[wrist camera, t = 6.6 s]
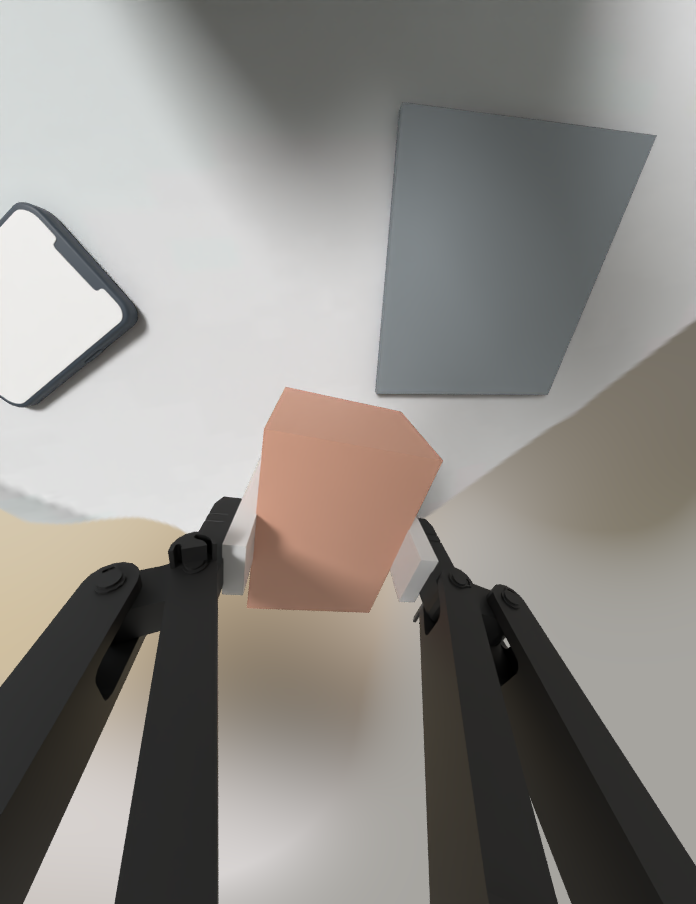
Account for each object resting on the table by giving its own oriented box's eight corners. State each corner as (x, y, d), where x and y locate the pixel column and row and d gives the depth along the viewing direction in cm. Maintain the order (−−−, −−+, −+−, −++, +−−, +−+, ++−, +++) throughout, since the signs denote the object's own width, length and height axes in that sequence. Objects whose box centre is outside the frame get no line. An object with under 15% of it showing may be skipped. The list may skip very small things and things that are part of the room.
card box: (285, 386, 13) (264, 428, 8) (401, 411, 14) (443, 460, 9) (267, 526, 17) (246, 608, 12) (356, 536, 18) (369, 612, 14)
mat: (399, 110, 17) (402, 102, 17) (644, 142, 19) (656, 135, 19) (375, 391, 27) (376, 393, 26) (542, 392, 29) (547, 394, 28)
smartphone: (37, 408, 25) (149, 317, 22) (20, 414, 24) (137, 317, 21) (-74, 324, 21) (43, 199, 18) (-103, 324, 20) (19, 189, 17)
